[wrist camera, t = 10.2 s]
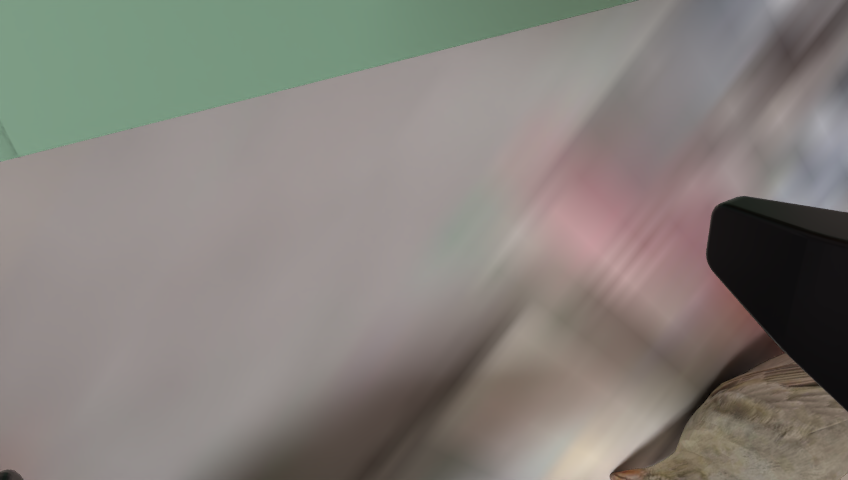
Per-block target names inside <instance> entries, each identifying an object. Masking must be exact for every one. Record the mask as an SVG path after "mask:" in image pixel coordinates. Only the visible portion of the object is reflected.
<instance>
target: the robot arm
mask: <svg viewBox="0 0 848 480" xmlns="http://www.w3.org/2000/svg"><path fill="white" fill-rule="evenodd" d="M706 258H707V262H708V264H709V266H710V268H711V270H712V271H713V272H714V273H715V275H716V276H717V277H718V278H719V279H720V280H721V281H722V283H723V284H724V285H725V286H726V287H727V288H728V289H729V291H730V292H731V293H732V294H733V295H734V296H735V297H736V298H737V300H738V301H739V302H740V303H741V304H742V305H743V306H744V308H745V309H746V310H747V311H748V312H749V313H750V314H751V316H752V317H753V318H754V319H755V320H756V321H757V322H758V324H759V325H760V326H761V327H762V328H763V329H764V330H765V332H766V333H767V334H768V335H769V336H770V337H771V338H772V339H773V340H774V342H775V343H776V344H777V345H778V346H779V347H780V348H781V349H782V350H783V351H784V352H785V353H786V354H787V355H788V356H789V357H790V358H791V359H792V360H793V361H794V362H795V363H796V364H797V365H798V366H799V367H800V368H801V369H802V370H804V371H805V372H806V373H807V374H808V375H809V376H810V377H811V378H812V379H813V380H814V381H815V382H816V383H817V384H818V385H819V386H820V387H822V388H823V389H824V390H825V391H826V392H827V393H828V394H829V395H830V396H831V397H832V398H833V399H834V400H835V401H836V402H837V403H838V404H839V405H841V406H842V407H843V408H844V409H845V410H846V411H847V412H848V213H847V212H841V211H835V210H828V209H822V208H816V207H810V206H804V205H797V204H791V203H785V202H779V201H773V200H766V199H760V198H754V197H748V196H740V197H736V198H733V199H731V200H728V201H725V202H723V203H720V204H718V205H717V206H716V207H715V208H714V210H713V212H712V215H711V221H710V228H709V235H708V242H707V249H706ZM0 480H23V478H22V477H21V476H20V474H18V473H17V472H16V471H14V470H4V471H1V472H0Z"/></svg>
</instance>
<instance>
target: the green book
mask: <svg viewBox="0 0 848 480" xmlns="http://www.w3.org/2000/svg"><path fill="white" fill-rule="evenodd" d="M633 1H637V0H0V162H1V161H5V160H9V159H13V158H17V157H21V156H25V155H29V154H33V153H37V152H41V151H45V150H49V149H52V148H56V147H60V146H64V145H68V144H72V143H76V142H80V141H84V140H88V139H92V138H96V137H100V136H104V135H108V134H112V133H116V132H120V131H124V130H128V129H132V128H135V127H139V126H143V125H147V124H151V123H155V122H159V121H163V120H167V119H171V118H175V117H179V116H183V115H187V114H191V113H195V112H199V111H203V110H207V109H211V108H215V107H218V106H222V105H226V104H230V103H234V102H238V101H242V100H246V99H250V98H254V97H258V96H262V95H266V94H270V93H274V92H278V91H282V90H286V89H290V88H294V87H298V86H301V85H305V84H309V83H313V82H317V81H321V80H325V79H329V78H333V77H337V76H341V75H345V74H349V73H353V72H357V71H361V70H365V69H369V68H373V67H377V66H381V65H384V64H388V63H392V62H396V61H400V60H404V59H408V58H412V57H416V56H420V55H424V54H428V53H432V52H436V51H440V50H444V49H448V48H452V47H456V46H460V45H464V44H467V43H471V42H475V41H479V40H483V39H487V38H491V37H495V36H499V35H503V34H507V33H511V32H515V31H519V30H523V29H527V28H531V27H535V26H539V25H543V24H547V23H550V22H554V21H558V20H562V19H566V18H570V17H574V16H578V15H582V14H586V13H590V12H594V11H598V10H602V9H606V8H610V7H614V6H618V5H622V4H626V3H630V2H633Z"/></svg>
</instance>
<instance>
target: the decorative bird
mask: <svg viewBox="0 0 848 480" xmlns="http://www.w3.org/2000/svg"><path fill="white" fill-rule="evenodd" d="M847 473H848V412H847V411H846V410H845V409H844V408H843V407H842V406H841V405H839V404H838V403H837V402H836V401H835V400H834V399H833V398H832V397H831V396H830V395H829V394H828V393H827V392H826V391H825V390H824V389H823V388H822V387H820V386H819V385H818V384H817V383H816V382H815V381H814V380H813V379H812V378H811V377H810V376H809V375H808V374H807V373H806V372H805V371H804V370H802V369H801V368H800V367H799V366H798V365H797V364H796V363H795V362H794V361H793V360H792V359H791V358H790V357H789V356H788V355H787V354H786V353H784V354H781V355H779V356H777V357H775V358H772V359H770V360H768V361H766V362H764V363H762V364H760V365H758V366H756V367H754V368H753V369H751V370H749V371H748V372H746V373H745V374H743V375H740V376H737V377H735V378H733V379H731V380H728V381H726V382H724V383H722V384H721V385H720V386H718V387H717V388H716V389H715V390H714V391H713V392H712V393H711V394H710V396H709V397H708V398H707V400H706V401H705V402H704V403H703V404H702V405H701V406H700V407H699V408H698V409H697V410H696V412H695V413H694V414H693V415H692V417H691V418H690V419H689V421H688V422H687V424H686V426H685V428H684V430H683V432H682V435H681V437H680V440H679V442H678V446H677V448H676V450H675V452H674V453H673V454H672V455H670V456H669V457H667V458H666V459H665V460H663V461H661V462H659V463H657V464H655V465H654V466H650V467H647V468H641V469H631V470H626V471H620V472H615V473H611V474H610V479H611V480H839V479H840V478H842V477H843V476H844V475H846V474H847ZM612 474H613V475H612Z"/></svg>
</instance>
